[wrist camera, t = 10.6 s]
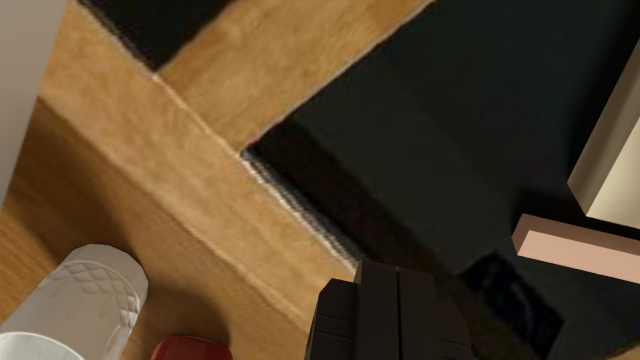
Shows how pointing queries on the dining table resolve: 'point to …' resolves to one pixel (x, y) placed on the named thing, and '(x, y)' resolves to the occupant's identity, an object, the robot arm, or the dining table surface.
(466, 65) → the dining table surface
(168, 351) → the snack package
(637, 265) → the frame
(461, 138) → the dining table surface
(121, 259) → the white cup
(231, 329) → the dining table surface
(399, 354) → the robot arm
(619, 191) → the T block
